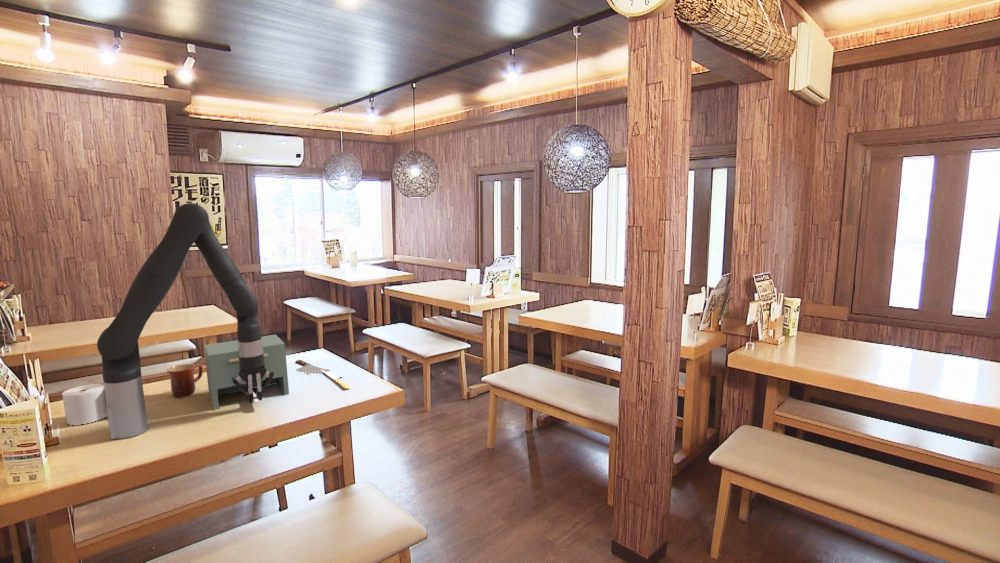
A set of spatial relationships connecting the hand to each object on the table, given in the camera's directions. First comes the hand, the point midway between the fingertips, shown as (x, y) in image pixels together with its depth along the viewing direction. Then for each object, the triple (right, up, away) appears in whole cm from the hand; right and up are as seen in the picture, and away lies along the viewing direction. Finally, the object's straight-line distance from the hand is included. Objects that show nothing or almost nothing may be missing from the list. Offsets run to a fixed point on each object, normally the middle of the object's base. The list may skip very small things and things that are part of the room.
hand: (255, 402), depth 173 cm
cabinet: (-8, 0, +12) cm, 15 cm away
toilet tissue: (-51, -4, -6) cm, 52 cm away
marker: (-3, 0, +4) cm, 5 cm away
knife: (+18, +3, +29) cm, 34 cm away
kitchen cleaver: (+2, +4, +41) cm, 41 cm away
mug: (-32, 0, +15) cm, 36 cm away
